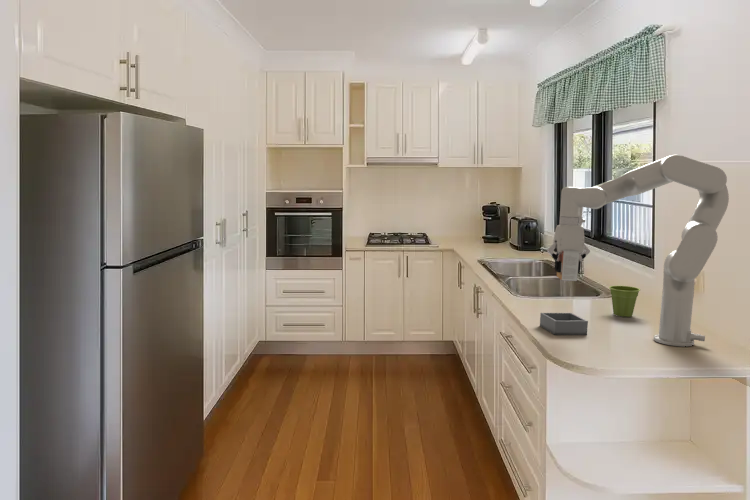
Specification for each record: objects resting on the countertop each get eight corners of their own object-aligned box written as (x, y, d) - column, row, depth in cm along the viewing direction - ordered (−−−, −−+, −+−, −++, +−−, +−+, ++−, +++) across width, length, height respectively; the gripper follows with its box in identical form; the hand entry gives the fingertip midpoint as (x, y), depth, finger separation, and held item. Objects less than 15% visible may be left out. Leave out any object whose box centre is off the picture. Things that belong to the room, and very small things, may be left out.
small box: (556, 276, 226) (558, 248, 224) (572, 277, 225) (574, 248, 224) (561, 280, 218) (563, 250, 216) (577, 281, 217) (579, 251, 216)
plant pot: (608, 310, 260) (610, 284, 259) (638, 314, 255) (641, 287, 254) (605, 316, 250) (607, 288, 248) (637, 320, 245) (639, 291, 243)
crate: (570, 325, 231) (571, 312, 230) (586, 334, 218) (587, 321, 217) (539, 326, 229) (540, 312, 229) (554, 335, 216) (555, 321, 216)
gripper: (588, 221, 224) (585, 270, 226) (543, 220, 221) (539, 270, 224) (598, 223, 216) (595, 273, 219) (551, 222, 214) (548, 273, 216)
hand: (567, 271), depth 221 cm, fingers closed on small box, 6 cm apart
